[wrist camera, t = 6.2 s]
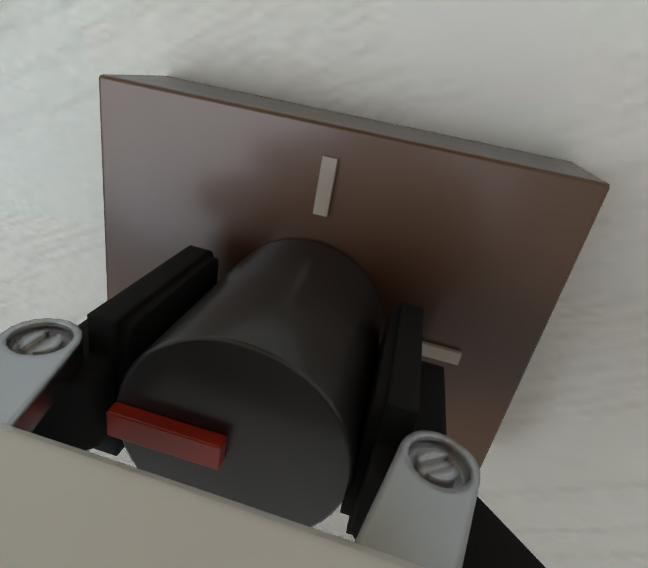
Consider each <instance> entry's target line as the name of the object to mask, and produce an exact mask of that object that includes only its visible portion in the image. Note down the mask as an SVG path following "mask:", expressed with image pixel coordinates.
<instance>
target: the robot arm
mask: <svg viewBox="0 0 648 568" xmlns="http://www.w3.org/2000/svg"><path fill="white" fill-rule="evenodd" d="M218 266H219V261H218V258H216V257H213V252H212V251H210V250H207V249H203V248H199V247H196V246H192V245H190V246H188V247H186V248H185V249H183V250H182V251H180V252H179V253H177V254H176V255H174V256H173V257H171V258H170V259H169V260H167V261H166V262H164V263H163V264H161V265H160V266H158V267H157V268H155V269H154V270H152V271H151V272H149V273H148V274H146V275H145V276H143V277H142V278H140V279H139V280H138V281H136V282H135V283H133V284H132V285H130V286H129V287H127V288H126V289H124V290H123V291H121V292H120V293H118V294H117V295H115V296H114V297H112V298H111V299H109V300H108V301H107V302H105V303H104V304H102V305H101V306H99V307H98V308H96V309H95V310H93V311H92V312H90V313H89V314H87V320H85V321H84V322H82V323H81V324H79V325H78V326H77V325H76V324H74V323H72V322H70V321H66V320H62V319H53V318H44V319H34V320H29V321H25V322H21V323H19V324H16V325H14V326H12V327H10V328H8V329H7V330H5V331H4V332H2V333H1V334H0V568H545V566H544V565H543V564H542V563H541V562H540V561H539V560H538V559H537V558H536V557H535V556H534V555H533V554H532V553H531V552H530V551H529V550H528V549H527V548H526V547H525V546H524V545H523V543H522V542H521V541H520V540H519V539H518V538H517V537H516V536H515V535H514V534H513V533H512V532H511V531H510V530H509V529H508V528H507V527H506V526H505V525H504V524H503V523H502V521H501V520H500V519H499V518H498V517H497V516H496V515H495V514H494V513H493V512H492V511H491V510H490V509H489V508H488V507H487V506H486V505H485V504H484V503H483V502H482V501H481V500H480V498H479V497H478V496H477V494H478V489H479V484H480V470H479V467H478V464H477V462H476V460H475V459H474V457H473V456H472V455H471V453H470V452H469V451H468V450H467V449H466V448H465V447H464V446H463V445H461V444H460V443H459V442H457V441H456V440H454V439H452V438H451V437H449V436H447V431H446V403H445V375H444V367H443V366H439V365H436V364H432V363H429V362H425V361H422V360H421V358H422V335H423V313H424V308H422V307H418V306H414V305H411V304H407V303H403V302H402V303H401V306H400V307H396V306H392V307H391V310H390V314H389V317H388V321H387V324H386V327H385V331H384V334H383V338H382V341H381V345H380V348H379V351H378V355H377V360H376V365H375V370H374V375H373V380H372V385H371V390H370V395H369V400H368V405H367V410H366V415H365V420H364V425H363V430H362V435H361V440H360V445H359V450H358V455H357V460H356V465H355V470H354V474H353V479H352V483H351V486H350V488H349V491H348V493H347V495H346V497H345V498H344V500H343V501H342V506H341V511H340V513H343V514H346V515H349V521H348V526H347V531H346V533H348V534H351V535H353V537H354V538H355V542H352V541H349V540H346V539H344V538H341V537H338V536H335V535H332V534H329V533H326V532H323V531H320V530H317V529H314V528H311V527H309V526H306V525H303V524H300V523H297V522H294V521H291V520H288V519H285V518H282V517H279V516H277V515H274V514H271V513H268V512H265V511H262V510H259V509H256V508H253V507H250V506H247V505H244V504H242V503H239V502H236V501H233V500H230V499H227V498H224V497H221V496H218V495H215V494H212V493H209V492H206V491H203V490H200V489H197V488H195V487H192V486H189V485H186V484H183V483H180V482H177V481H174V480H171V479H168V478H165V477H162V476H159V475H156V474H153V473H150V472H147V471H144V470H141V469H138V468H135V467H132V466H129V465H126V464H123V463H120V462H117V461H114V460H111V459H108V458H105V457H102V456H99V455H96V454H93V453H90V452H89V449H92V448H94V449H97V450H100V451H103V452H106V453H109V454H112V455H115V456H117V455H118V454H119V453H120V452H121V450H122V449H123V448H124V447H125V446H124V443H123V441H122V439H119V438H116V437H113V436H110V435H108V434H107V421H106V412H107V410H108V409H109V408H110V407H111V406H112V405H113V404H114V403H115V402H117V396H118V392H119V387H120V384H121V382H122V380H123V377H124V375H125V373H126V372H127V370H128V369H129V367H130V366H131V364H132V363H133V362H134V361H135V360H136V359H137V358H138V357H139V356H140V355H141V354H142V353H143V352H144V351H145V350H146V349H147V348H149V347H150V346H151V345H152V344H153V343H154V342H155V341H156V340H157V339H158V338H159V337H160V336H161V335H162V334H163V333H165V332H166V331H167V330H168V329H169V328H170V327H171V326H172V325H173V324H174V323H175V322H176V321H177V320H178V319H179V318H181V317H182V316H183V315H184V314H185V313H186V312H187V311H188V310H189V309H190V308H191V307H192V306H193V305H194V304H195V303H197V302H198V301H199V300H200V299H201V298H202V297H203V296H204V295H205V294H206V293H207V292H208V291H209V290H210V289H211V288H213V287H214V286H215V285H216V284H217V277H218Z"/></svg>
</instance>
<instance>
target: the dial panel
mask: <svg viewBox="0 0 648 568" xmlns="http://www.w3.org/2000/svg"><path fill="white" fill-rule="evenodd" d="M99 91H100V117H101V142H102V168H103V194H104V219H105V245H106V271H107V296H108V300H109V299H111V298H112V297H114V296H115V295H117V294H118V293H120V292H121V291H123V290H124V289H126V288H127V287H129V286H130V285H132V284H133V283H135V282H136V281H138V280H139V279H140V278H142V277H143V276H145V275H146V274H148V273H149V272H151V271H152V270H154V269H155V268H157V267H158V266H160V265H161V264H163V263H164V262H166V261H167V260H169V259H170V258H171V257H173V256H174V255H176V254H177V253H179V252H180V251H182V250H183V249H185V248H186V247H188V246H190V245H192V246H196V247H199V248H203V249H207V250H210V251H212V252H213V257H216V258H218V261H219V266H218V277H217V283H218V282H219V281H220V280H221V279H222V278H223V277H224V276H225V275H226V274H228V273H229V272H230V271H231V270H232V269H233V268H234V267H235V266H236V265H237V264H238V263H239V262H240V261H241V260H242V259H244V258H245V257H246V256H247V255H248V254H250V253H251V252H252V251H254V250H255V249H257V248H259V247H261V246H263V245H266V244H268V243H271V242H275V241H280V240H289V239H299V240H308V241H313V242H317V243H320V244H324V245H327V246H329V247H331V248H333V249H335V250H337V251H339V252H341V253H342V254H344V255H345V256H347V257H348V258H349V259H351V260H352V261H353V262H354V263H356V264H357V265H358V266H359V267H360V268H361V269H362V270H363V272H364V273H365V274H366V275H367V277H368V278H369V279H370V281H371V283H372V284H373V286H374V288H375V290H376V292H377V295H378V297H379V300H380V303H381V307H382V314H383V330H382V335H381V340H380V345H381V341H382V338H383V334H384V331H385V327H386V324H387V321H388V317H389V314H390V310H391V307H392V306H396V307H400V306H401V303H402V302H403V303H407V304H411V305H414V306H418V307H422V308H424V313H423V335H422V358H421V360H422V361H425V362H429V363H432V364H436V365H439V366H443V367H444V375H445V403H446V431H447V436H449V437H451V438H452V439H454V440H456V441H457V442H459V443H460V444H461V445H463V446H464V447H465V448H466V449H467V450H468V451H469V452H470V453H471V455H472V456H473V457H474V459H475V460H476V462H477V464H478V467H479V470H480V468H481V465H482V463H483V461H484V459H485V457H486V455H487V452H488V450H489V448H490V446H491V444H492V442H493V439H494V437H495V435H496V433H497V431H498V429H499V426H500V424H501V422H502V420H503V418H504V416H505V413H506V411H507V409H508V407H509V405H510V403H511V400H512V398H513V396H514V394H515V392H516V390H517V387H518V385H519V383H520V381H521V379H522V377H523V374H524V372H525V370H526V368H527V366H528V364H529V361H530V359H531V357H532V355H533V353H534V351H535V348H536V346H537V344H538V342H539V340H540V338H541V335H542V333H543V331H544V329H545V327H546V325H547V322H548V320H549V318H550V316H551V314H552V312H553V309H554V307H555V305H556V303H557V301H558V299H559V296H560V294H561V292H562V290H563V288H564V286H565V283H566V281H567V279H568V277H569V275H570V273H571V270H572V268H573V266H574V264H575V262H576V260H577V257H578V255H579V253H580V251H581V249H582V247H583V244H584V242H585V240H586V238H587V236H588V234H589V231H590V229H591V227H592V225H593V223H594V221H595V219H596V216H597V214H598V212H599V210H600V208H601V206H602V203H603V201H604V199H605V197H606V195H607V193H608V190H609V188H610V185H609V184H608V183H607V182H605V181H603V180H601V179H600V178H598V177H596V176H594V175H593V174H591V173H589V172H587V171H586V170H584V169H582V168H581V167H579V166H577V165H575V164H574V163H572V162H569V161H565V160H560V159H555V158H551V157H546V156H541V155H536V154H532V153H527V152H522V151H517V150H513V149H508V148H503V147H499V146H494V145H489V144H484V143H480V142H475V141H470V140H465V139H461V138H456V137H451V136H447V135H442V134H437V133H432V132H428V131H423V130H418V129H413V128H409V127H404V126H399V125H395V124H390V123H385V122H380V121H376V120H371V119H366V118H361V117H357V116H352V115H347V114H343V113H338V112H333V111H328V110H324V109H319V108H314V107H309V106H305V105H300V104H295V103H291V102H286V101H281V100H276V99H272V98H267V97H262V96H257V95H253V94H248V93H243V92H239V91H234V90H229V89H224V88H220V87H215V86H210V85H205V84H201V83H196V82H191V81H187V80H182V79H177V78H172V77H168V76H151V75H106V74H103V75H100V77H99ZM380 345H379V348H380ZM378 351H379V350H378Z"/></svg>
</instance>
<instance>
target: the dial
mask: <svg viewBox="0 0 648 568" xmlns="http://www.w3.org/2000/svg"><path fill="white" fill-rule="evenodd" d="M382 330H383V314H382V307H381V303H380V300H379V297H378V295H377V292H376V290H375V288H374V286H373V284H372V283H371V281H370V279H369V278H368V277H367V275H366V274H365V273H364V272H363V270H362V269H361V268H360V267H359V266H358V265H357V264H356V263H354V262H353V261H352V260H351V259H349V258H348V257H347V256H345V255H344V254H342V253H341V252H339V251H337V250H335V249H333V248H331V247H329V246H327V245H324V244H320V243H317V242H313V241H308V240H299V239H289V240H280V241H275V242H271V243H268V244H266V245H263V246H261V247H259V248H257V249H255V250H254V251H252V252H251V253H250V254H248V255H247V256H246V257H245V258H244V259H242V260H241V261H240V262H239V263H238V264H237V265H236V266H235V267H234V268H233V269H232V270H231V271H230V272H229V273H228V274H226V275H225V276H224V277H223V278H222V279H221V280H220V281H219V282H218V283H217V284H216V285H215V286H214V287H213V288H211V289H210V290H209V291H208V292H207V293H206V294H205V295H204V296H203V297H202V298H201V299H200V300H199V301H198V302H197V303H195V304H194V305H193V306H192V307H191V308H190V309H189V310H188V311H187V312H186V313H185V314H184V315H183V316H182V317H181V318H179V319H178V320H177V321H176V322H175V323H174V324H173V325H172V326H171V327H170V328H169V329H168V330H167V331H166V332H165V333H163V334H162V335H161V336H160V337H159V338H158V339H157V340H156V341H155V342H154V343H153V344H152V345H151V346H150V347H149V348H147V349H146V350H145V351H144V352H143V353H142V354H141V355H140V356H139V357H138V358H137V359H136V360H135V361H134V362H133V363H132V364H131V366H130V367H129V369H128V370H127V372H126V373H125V375H124V377H123V380H122V382H121V384H120V387H119V392H118V396H117V402H115V403H114V404H113V405H112V406H111V407H110V408H109V409H108V410H107V412H106V421H107V434H108V435H110V436H113V437H116V438H119V439H122V441H123V443H124V446H125V448H126V450H127V452H128V454H129V456H130V457H131V459H132V461H133V462H134V464H135V465H136V467H137V468H138V469H141V470H144V471H147V472H150V473H153V474H156V475H159V476H162V477H165V478H168V479H171V480H174V481H177V482H180V483H183V484H186V485H189V486H192V487H195V488H197V489H200V490H203V491H206V492H209V493H212V494H215V495H218V496H221V497H224V498H227V499H230V500H233V501H236V502H239V503H242V504H244V505H247V506H250V507H253V508H256V509H259V510H262V511H265V512H268V513H271V514H274V515H277V516H279V517H282V518H285V519H288V520H291V521H294V522H297V523H300V524H303V525H306V526H309V527H313V526H314V525H316V524H318V523H320V522H322V521H323V520H324V519H326V518H327V517H328V516H330V515H331V514H332V513H333V512H334V511H335V510H336V509H337V508H338V507H339V505H340V504H341V503H342V501H343V500H344V498H345V497H346V495H347V493H348V491H349V488H350V486H351V483H352V479H353V474H354V470H355V465H356V460H357V455H358V450H359V445H360V440H361V435H362V430H363V425H364V420H365V415H366V410H367V405H368V400H369V395H370V390H371V385H372V380H373V375H374V370H375V365H376V360H377V355H378V350H379V345H380V340H381V335H382Z"/></svg>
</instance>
